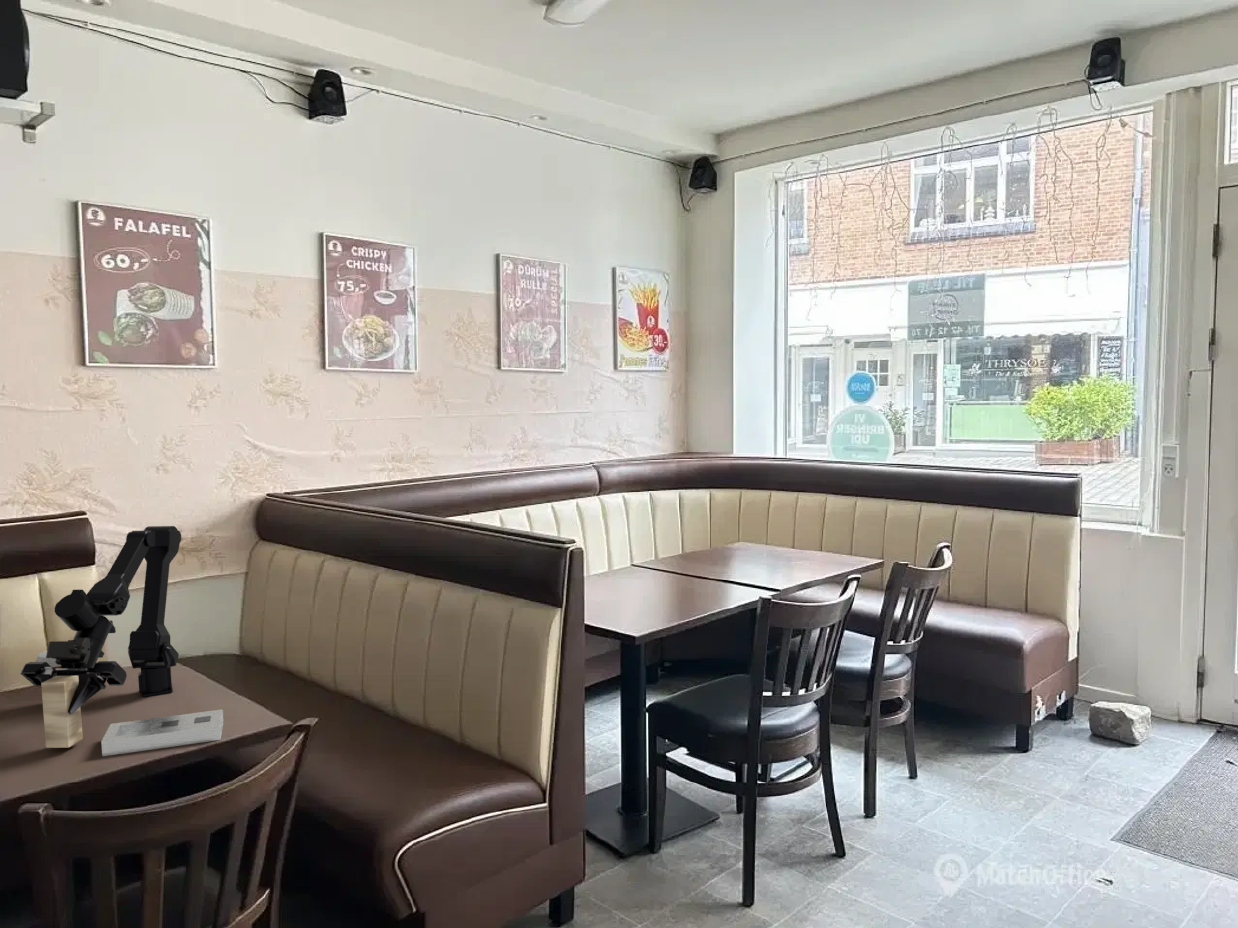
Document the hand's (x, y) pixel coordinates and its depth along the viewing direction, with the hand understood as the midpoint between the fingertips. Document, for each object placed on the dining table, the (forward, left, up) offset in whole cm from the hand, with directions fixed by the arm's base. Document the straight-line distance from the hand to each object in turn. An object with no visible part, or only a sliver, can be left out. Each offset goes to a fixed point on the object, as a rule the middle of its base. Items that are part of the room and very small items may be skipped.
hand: (57, 713), depth 175 cm
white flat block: (-18, +4, -8) cm, 20 cm away
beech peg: (-1, -1, -7) cm, 7 cm away
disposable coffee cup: (+1, -33, -8) cm, 34 cm away
